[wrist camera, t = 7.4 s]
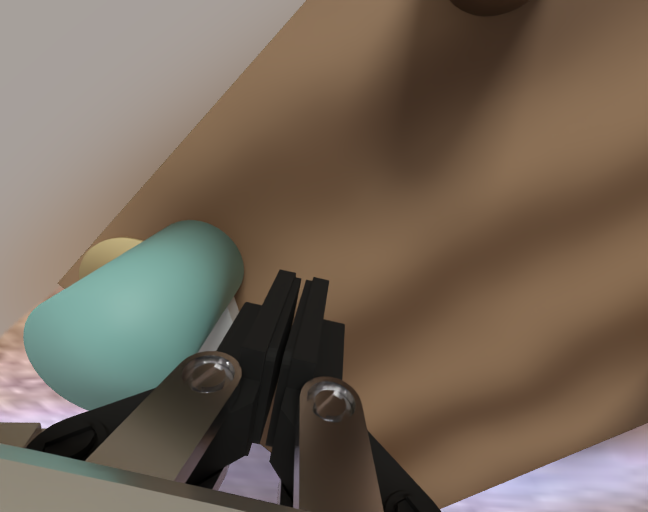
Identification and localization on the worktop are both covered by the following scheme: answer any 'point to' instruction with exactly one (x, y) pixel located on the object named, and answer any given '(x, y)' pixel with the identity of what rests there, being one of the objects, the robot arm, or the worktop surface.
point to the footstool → (442, 217)
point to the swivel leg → (137, 316)
